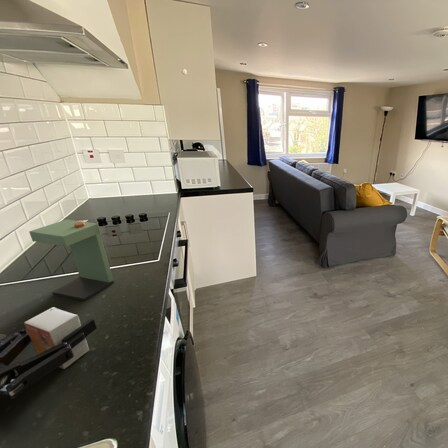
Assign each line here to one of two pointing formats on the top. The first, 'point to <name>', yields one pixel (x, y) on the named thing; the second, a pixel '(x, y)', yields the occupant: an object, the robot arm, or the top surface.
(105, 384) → the top surface
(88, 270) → the coffee maker
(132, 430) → the top surface
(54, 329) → the small box
